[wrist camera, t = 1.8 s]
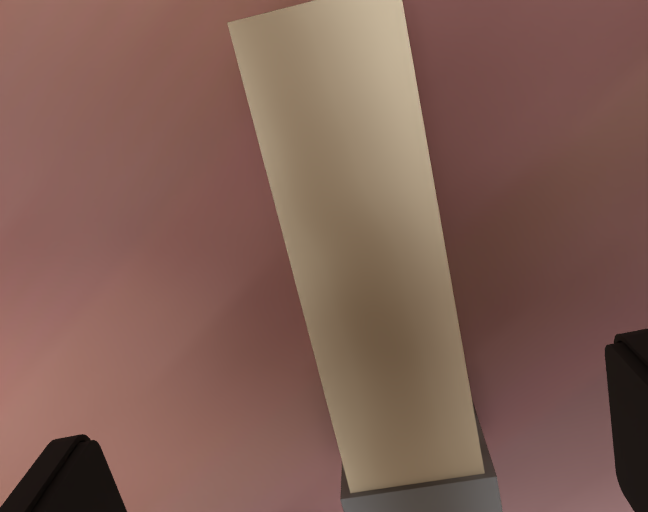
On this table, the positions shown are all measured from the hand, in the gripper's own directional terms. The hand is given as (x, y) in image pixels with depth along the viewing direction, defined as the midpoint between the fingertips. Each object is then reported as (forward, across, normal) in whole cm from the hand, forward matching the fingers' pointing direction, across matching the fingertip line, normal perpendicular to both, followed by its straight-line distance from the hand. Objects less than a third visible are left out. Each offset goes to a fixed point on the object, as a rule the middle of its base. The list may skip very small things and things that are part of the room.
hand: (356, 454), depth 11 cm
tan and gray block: (+12, -1, 0) cm, 12 cm away
